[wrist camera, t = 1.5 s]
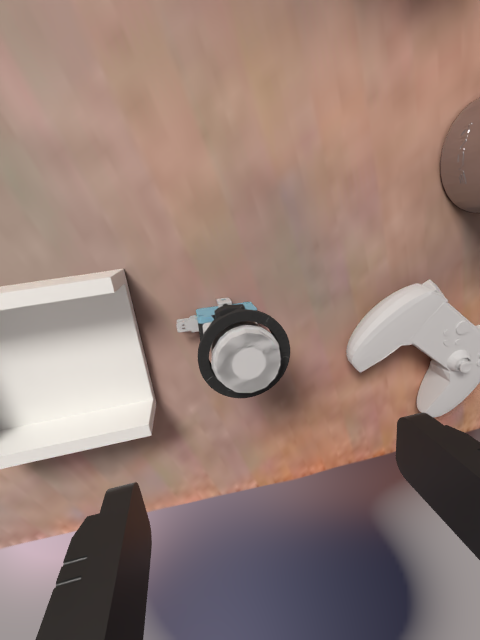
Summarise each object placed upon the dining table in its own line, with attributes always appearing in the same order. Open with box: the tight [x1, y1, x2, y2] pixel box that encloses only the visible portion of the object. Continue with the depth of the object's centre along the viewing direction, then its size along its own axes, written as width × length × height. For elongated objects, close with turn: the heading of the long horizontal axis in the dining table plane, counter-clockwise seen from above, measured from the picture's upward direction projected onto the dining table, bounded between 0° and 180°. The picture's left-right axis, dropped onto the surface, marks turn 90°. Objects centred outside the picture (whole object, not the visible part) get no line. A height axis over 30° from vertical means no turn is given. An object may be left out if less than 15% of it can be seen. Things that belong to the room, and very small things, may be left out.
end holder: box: [0, 269, 156, 469], centre depth 22 cm, size 13×12×4 cm
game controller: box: [346, 280, 480, 417], centre depth 28 cm, size 14×4×10 cm
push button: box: [176, 298, 290, 398], centre depth 21 cm, size 7×5×10 cm
